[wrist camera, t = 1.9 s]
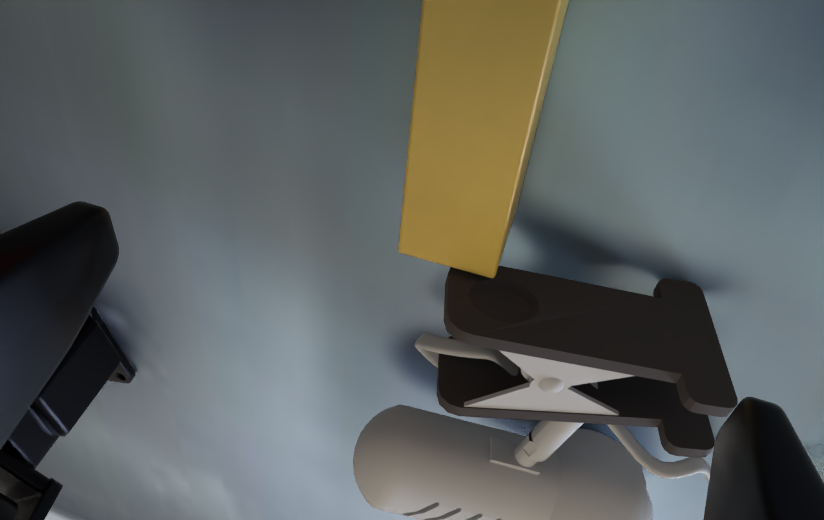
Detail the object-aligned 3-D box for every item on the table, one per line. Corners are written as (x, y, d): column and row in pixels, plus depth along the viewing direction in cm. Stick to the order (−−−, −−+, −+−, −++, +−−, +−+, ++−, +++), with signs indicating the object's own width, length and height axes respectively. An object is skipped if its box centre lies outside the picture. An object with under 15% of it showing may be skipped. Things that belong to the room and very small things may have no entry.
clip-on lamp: (983, 370, 23) (467, 192, 19) (1111, 570, 19) (466, 389, 15) (740, 523, 31) (337, 419, 27) (787, 691, 26) (310, 594, 22)
